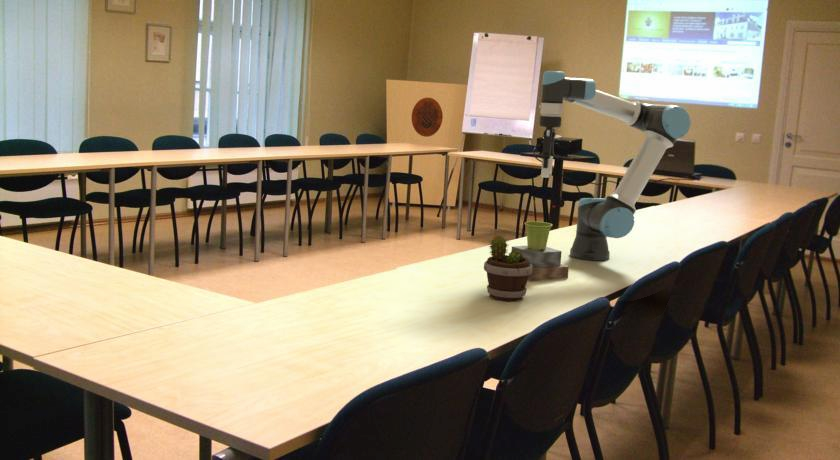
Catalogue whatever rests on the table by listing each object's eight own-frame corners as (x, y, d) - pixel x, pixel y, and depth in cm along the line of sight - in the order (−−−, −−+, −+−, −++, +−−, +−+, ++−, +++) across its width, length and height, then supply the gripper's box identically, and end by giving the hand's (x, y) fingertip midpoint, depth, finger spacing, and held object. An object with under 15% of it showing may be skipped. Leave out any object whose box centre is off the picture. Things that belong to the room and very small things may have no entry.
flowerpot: (534, 294, 253) (539, 231, 249) (524, 306, 238) (529, 238, 235) (489, 289, 257) (493, 226, 254) (476, 299, 243) (480, 233, 240)
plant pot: (549, 252, 275) (551, 226, 273) (521, 249, 277) (523, 224, 275) (551, 247, 284) (553, 222, 282) (523, 245, 286) (525, 220, 284)
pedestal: (537, 268, 292) (539, 243, 291) (567, 277, 279) (570, 252, 277) (501, 271, 284) (503, 245, 282) (531, 281, 270) (533, 254, 269)
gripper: (543, 114, 301) (539, 171, 305) (536, 115, 277) (532, 178, 281) (563, 115, 300) (559, 173, 303) (559, 116, 276) (554, 179, 279)
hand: (546, 175), depth 292 cm, fingers open, 13 cm apart
